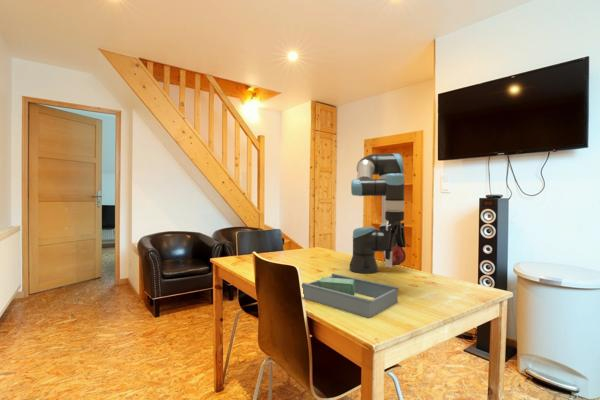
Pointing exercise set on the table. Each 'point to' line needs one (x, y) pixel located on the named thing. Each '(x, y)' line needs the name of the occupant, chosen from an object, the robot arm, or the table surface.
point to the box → (338, 285)
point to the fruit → (396, 255)
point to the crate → (351, 303)
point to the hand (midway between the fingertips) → (394, 264)
